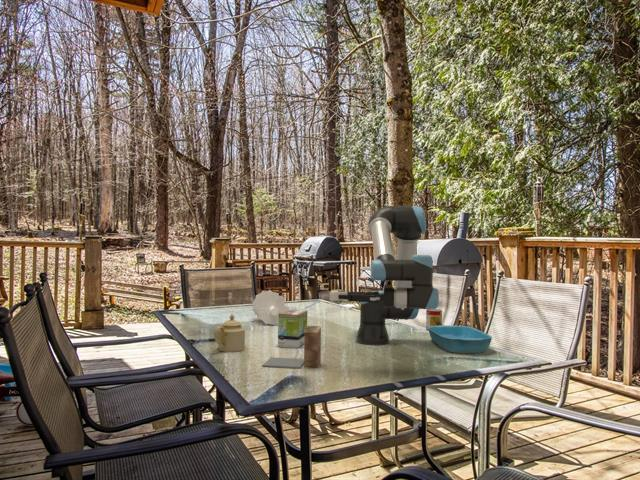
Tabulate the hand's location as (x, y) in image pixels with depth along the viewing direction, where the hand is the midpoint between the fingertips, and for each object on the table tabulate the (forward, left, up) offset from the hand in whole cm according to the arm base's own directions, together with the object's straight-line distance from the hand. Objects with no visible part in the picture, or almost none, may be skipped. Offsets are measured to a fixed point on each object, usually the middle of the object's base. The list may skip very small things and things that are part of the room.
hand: (330, 295), depth 175 cm
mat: (+17, 0, -26) cm, 31 cm away
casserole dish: (-52, -45, -26) cm, 74 cm away
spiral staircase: (+47, -87, -26) cm, 102 cm away
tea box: (+22, -34, -26) cm, 48 cm away
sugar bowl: (+45, -17, -26) cm, 54 cm away
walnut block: (+7, 0, -26) cm, 27 cm away
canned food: (-43, -75, -26) cm, 91 cm away
